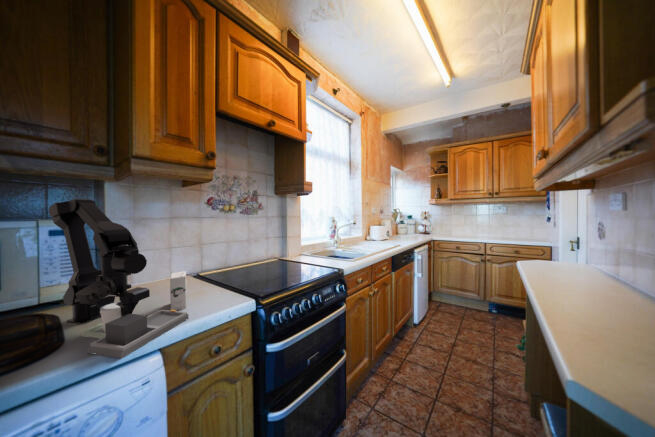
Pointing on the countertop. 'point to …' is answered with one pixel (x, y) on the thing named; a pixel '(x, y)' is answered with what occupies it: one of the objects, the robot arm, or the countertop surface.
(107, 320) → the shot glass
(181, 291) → the ink box
